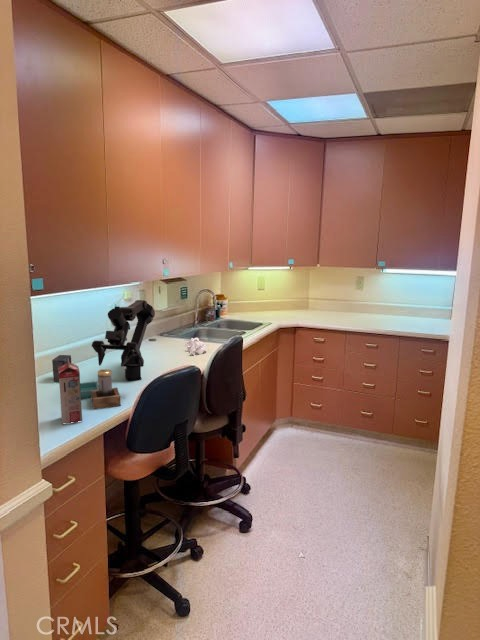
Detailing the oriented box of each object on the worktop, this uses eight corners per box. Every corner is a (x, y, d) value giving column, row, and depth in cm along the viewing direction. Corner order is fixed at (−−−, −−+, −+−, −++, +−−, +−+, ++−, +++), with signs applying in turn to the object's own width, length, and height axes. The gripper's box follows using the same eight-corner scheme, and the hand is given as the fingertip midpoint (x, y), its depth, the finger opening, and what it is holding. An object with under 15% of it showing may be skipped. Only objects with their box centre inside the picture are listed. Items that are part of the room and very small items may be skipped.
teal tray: (97, 388, 186) (97, 381, 186) (100, 396, 177) (99, 389, 176) (70, 391, 182) (69, 384, 182) (71, 400, 172) (70, 393, 172)
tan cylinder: (111, 399, 174) (110, 368, 171) (113, 404, 169) (112, 372, 167) (98, 401, 172) (97, 370, 169) (99, 406, 167) (98, 373, 165)
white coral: (211, 349, 241) (199, 338, 238) (201, 361, 240) (188, 350, 237) (205, 344, 252) (193, 334, 249) (195, 356, 251) (183, 345, 248)
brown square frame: (117, 396, 177) (116, 387, 176) (120, 405, 168) (120, 396, 167) (91, 400, 173) (91, 390, 172) (93, 409, 164) (93, 399, 163)
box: (60, 376, 200) (59, 354, 198) (72, 377, 200) (71, 355, 198) (53, 382, 192) (51, 359, 190) (65, 382, 192) (64, 359, 190)
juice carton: (80, 414, 159) (77, 357, 155) (82, 422, 153) (79, 362, 149) (61, 417, 156) (57, 358, 152) (62, 424, 150) (58, 364, 146)
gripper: (92, 321, 176) (80, 354, 168) (136, 323, 174) (126, 357, 165) (101, 335, 185) (91, 368, 177) (143, 337, 183) (134, 370, 175)
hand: (110, 365), depth 173 cm, fingers open, 9 cm apart
